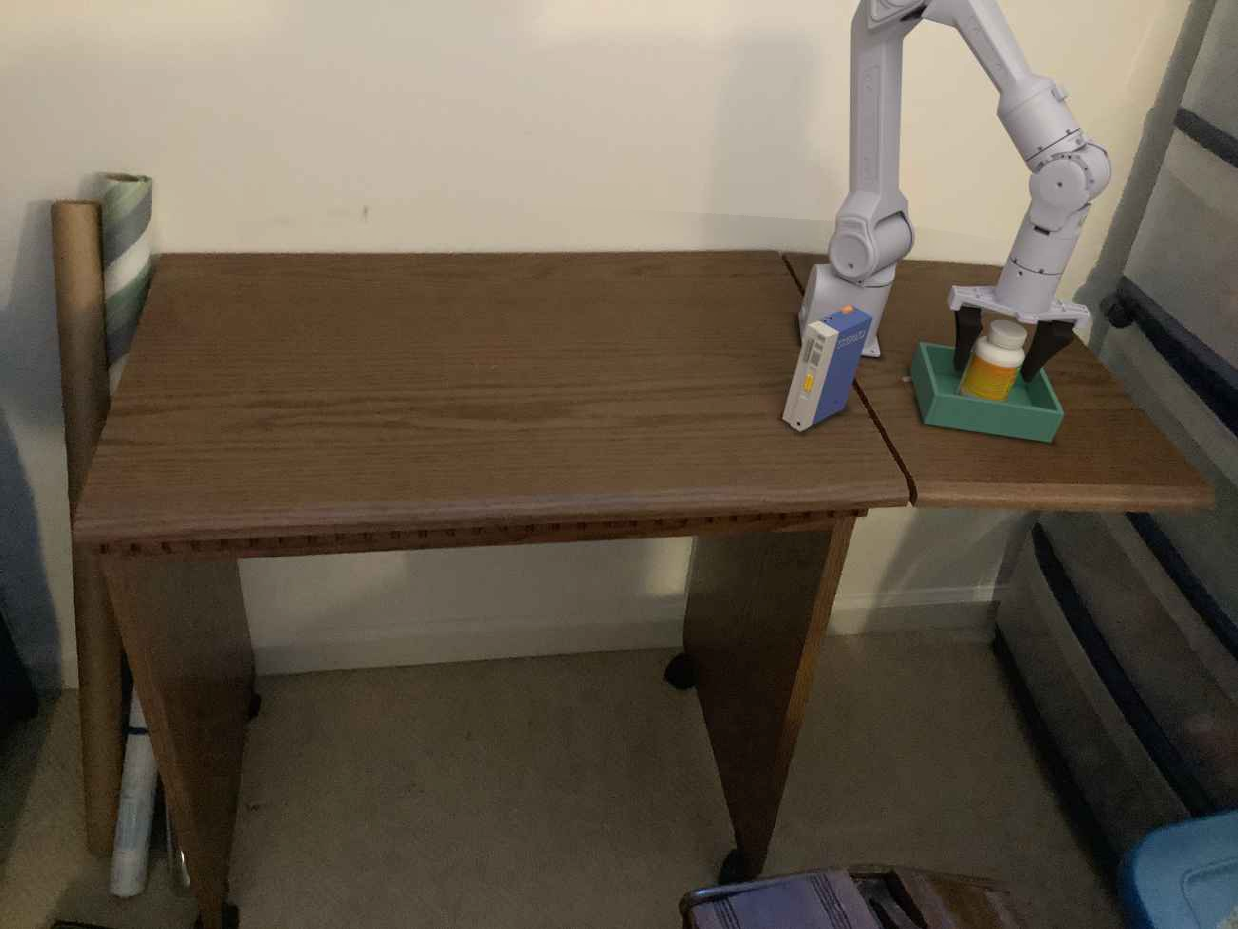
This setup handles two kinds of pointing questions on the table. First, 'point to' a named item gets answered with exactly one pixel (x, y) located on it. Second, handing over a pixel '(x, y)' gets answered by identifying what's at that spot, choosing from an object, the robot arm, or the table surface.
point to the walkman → (826, 367)
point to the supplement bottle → (994, 362)
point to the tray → (1020, 416)
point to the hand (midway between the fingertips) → (991, 372)
